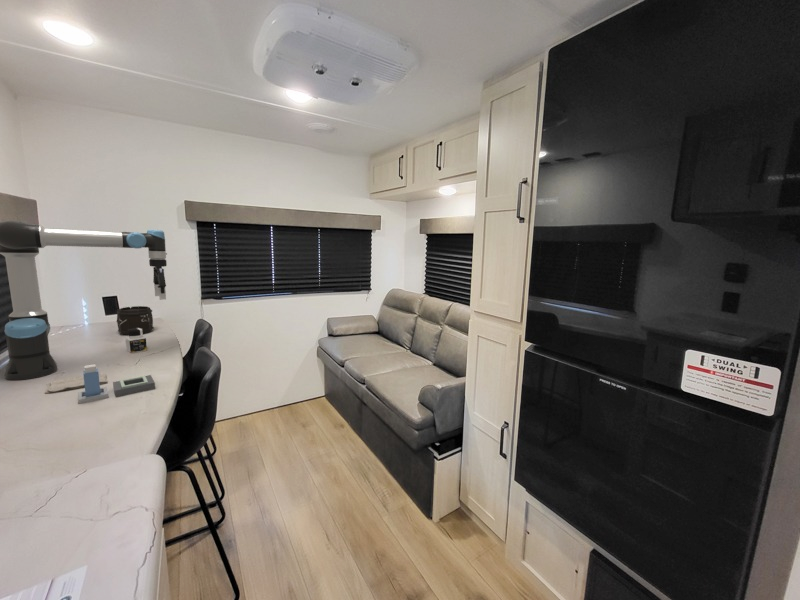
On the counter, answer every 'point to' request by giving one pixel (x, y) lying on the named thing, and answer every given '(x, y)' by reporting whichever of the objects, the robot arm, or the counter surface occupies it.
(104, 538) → the counter surface
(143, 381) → the port block
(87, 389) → the plug
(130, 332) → the medicine bottle
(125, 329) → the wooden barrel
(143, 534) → the counter surface
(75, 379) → the washcloth
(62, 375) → the counter surface
